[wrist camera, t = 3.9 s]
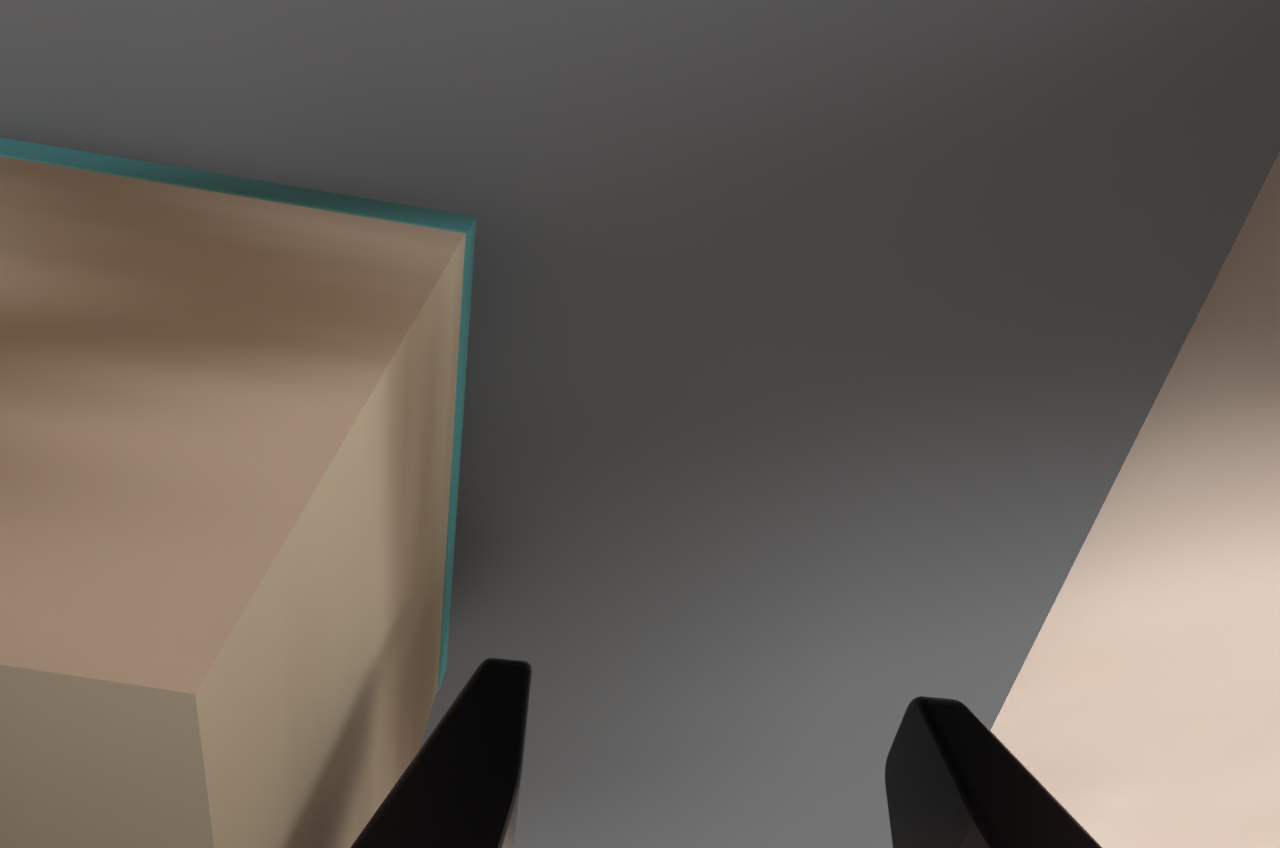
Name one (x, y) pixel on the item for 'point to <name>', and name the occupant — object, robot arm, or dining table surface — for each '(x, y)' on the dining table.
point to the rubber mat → (739, 333)
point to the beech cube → (219, 500)
